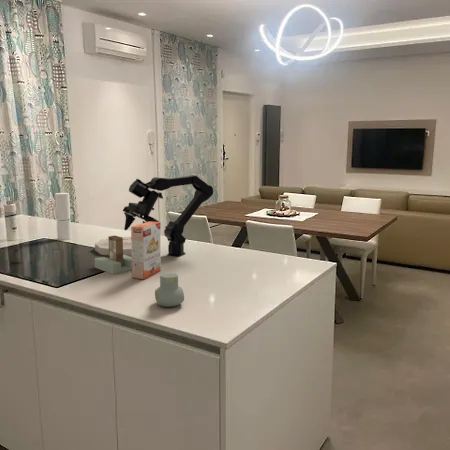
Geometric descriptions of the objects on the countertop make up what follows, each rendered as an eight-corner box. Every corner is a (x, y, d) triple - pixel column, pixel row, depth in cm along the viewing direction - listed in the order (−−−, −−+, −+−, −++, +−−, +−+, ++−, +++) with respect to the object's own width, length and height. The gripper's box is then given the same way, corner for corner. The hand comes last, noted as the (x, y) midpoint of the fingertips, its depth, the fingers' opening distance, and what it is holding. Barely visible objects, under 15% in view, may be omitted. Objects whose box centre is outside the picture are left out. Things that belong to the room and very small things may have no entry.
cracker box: (144, 280, 176) (143, 227, 173) (131, 278, 178) (129, 226, 175) (161, 270, 189) (161, 221, 185) (149, 269, 191) (148, 220, 188)
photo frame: (123, 266, 192) (122, 237, 190) (117, 267, 190) (116, 238, 187) (115, 263, 196) (114, 235, 194) (109, 265, 194) (108, 236, 191)
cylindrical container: (66, 236, 254) (63, 192, 250) (74, 238, 250) (71, 193, 246) (55, 238, 249) (52, 193, 244) (63, 240, 245) (60, 194, 240)
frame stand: (94, 267, 193) (94, 258, 193) (119, 262, 202) (119, 253, 201) (113, 274, 184) (112, 264, 183) (138, 268, 193) (138, 259, 192)
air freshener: (153, 300, 154) (153, 272, 153) (177, 297, 157) (177, 269, 155) (160, 311, 144) (160, 281, 143) (185, 308, 147) (185, 278, 145)
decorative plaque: (86, 248, 213) (108, 235, 243) (86, 256, 214) (108, 242, 243) (148, 250, 210) (163, 237, 240) (148, 258, 211) (163, 243, 240)
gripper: (123, 189, 203) (106, 220, 201) (151, 201, 193) (134, 234, 191) (138, 199, 212) (122, 229, 210) (166, 211, 202) (149, 242, 200)
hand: (131, 233), depth 202 cm, fingers open, 9 cm apart
